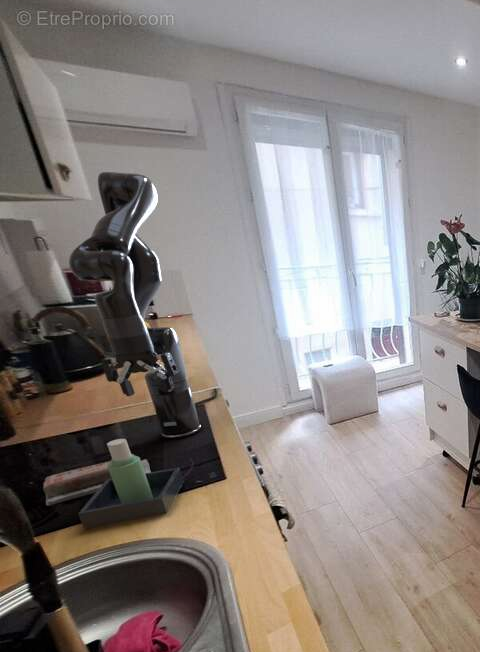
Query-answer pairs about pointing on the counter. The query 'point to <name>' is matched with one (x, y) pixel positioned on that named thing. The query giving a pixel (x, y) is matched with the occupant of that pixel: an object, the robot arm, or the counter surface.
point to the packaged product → (78, 482)
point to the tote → (111, 511)
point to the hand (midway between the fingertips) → (150, 393)
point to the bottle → (127, 473)
